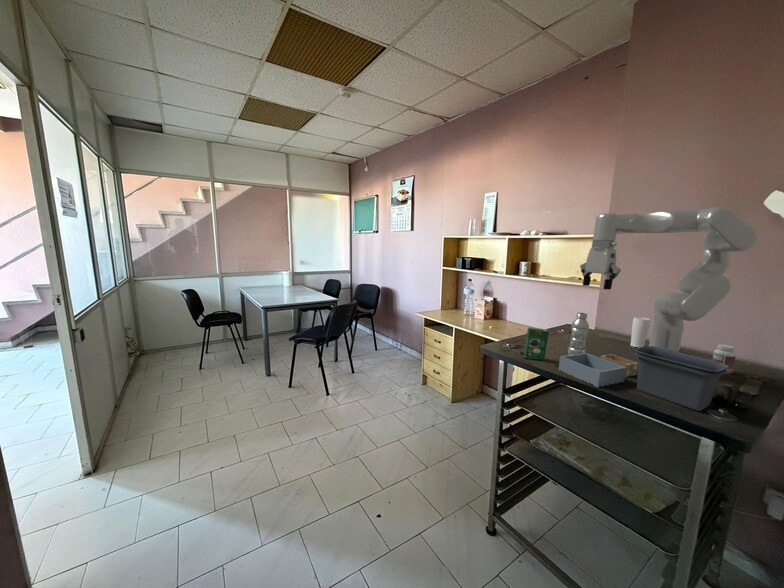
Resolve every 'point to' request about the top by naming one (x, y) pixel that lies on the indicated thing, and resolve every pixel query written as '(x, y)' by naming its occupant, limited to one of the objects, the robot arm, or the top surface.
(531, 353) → the coffee box
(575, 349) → the plastic bottle
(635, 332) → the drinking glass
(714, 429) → the top surface
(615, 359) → the wooden crate
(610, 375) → the grey crate
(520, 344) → the top surface
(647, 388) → the storage bin
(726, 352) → the pill bottle
